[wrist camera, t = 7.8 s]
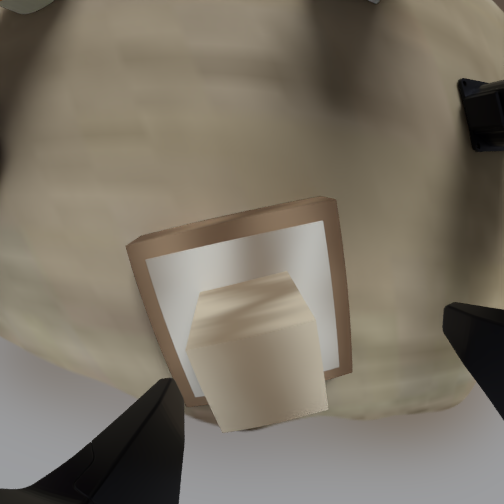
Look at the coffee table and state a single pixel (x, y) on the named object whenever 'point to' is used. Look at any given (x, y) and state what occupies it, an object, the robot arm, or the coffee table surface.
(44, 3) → the reusable coffee cup
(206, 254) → the base slab
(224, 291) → the oak block
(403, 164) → the coffee table surface
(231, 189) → the coffee table surface
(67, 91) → the coffee table surface
